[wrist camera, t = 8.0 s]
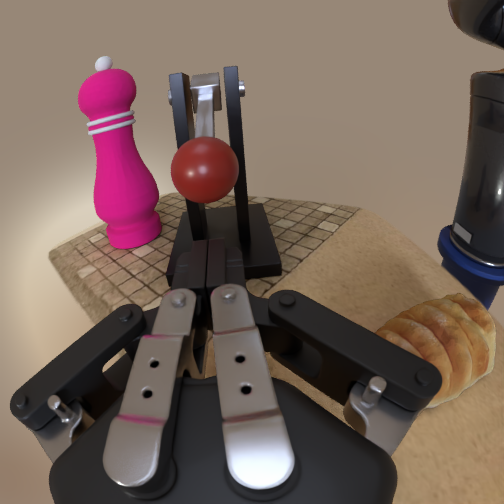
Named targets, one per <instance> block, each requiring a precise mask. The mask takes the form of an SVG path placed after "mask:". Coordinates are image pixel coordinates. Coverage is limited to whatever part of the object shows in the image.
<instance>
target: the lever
mask: <svg viewBox="0 0 504 504" xmlns="http://www.w3.org/2000/svg"><path fill="white" fill-rule="evenodd" d="M190 92H191V98H192V104H193V111H194V113H197V116H196V129H195V138H193V139H191V140H189V141H187V142H186V143H184V144H183V145H182V146H181V147H180V148H179V149H178V151H177V152H176V154H175V156H174V158H173V160H172V164H171V177H172V181H173V183H174V185H175V187H176V189H177V190H178V192H179V193H180V194H181V195H182V196H184V197H185V198H187V199H188V200H191V201H193V202H197V203H211V202H215V201H218V200H220V199H222V198H223V197H225V196H226V195H227V194H228V193H229V192H230V191H231V190H232V189H233V187H234V185H235V183H236V181H237V178H238V173H239V165H238V160H237V157H236V155H235V153H234V151H233V150H232V149H231V147H230V146H229V145H228V144H226V143H225V142H224V141H222V140H220V139H218V138H215V132H214V111H220V110H222V105H221V91H220V80H219V73H218V72H217V73H209V74H200V75H193V76H192V80H191V86H190Z"/></svg>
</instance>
